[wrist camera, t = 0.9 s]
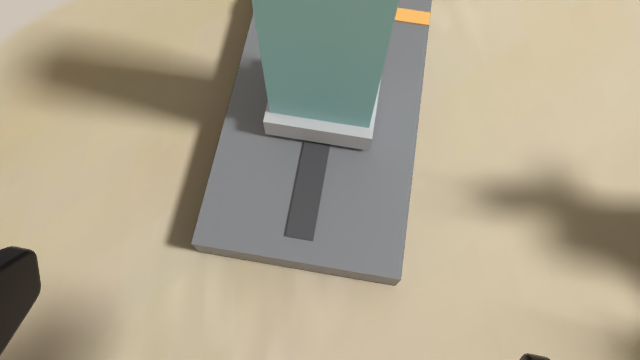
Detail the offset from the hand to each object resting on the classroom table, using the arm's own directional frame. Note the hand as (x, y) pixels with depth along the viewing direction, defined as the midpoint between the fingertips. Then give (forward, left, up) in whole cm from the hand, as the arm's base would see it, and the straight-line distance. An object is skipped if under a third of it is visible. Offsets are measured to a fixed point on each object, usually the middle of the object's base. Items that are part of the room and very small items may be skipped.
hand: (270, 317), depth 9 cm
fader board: (+10, +4, -13) cm, 17 cm away
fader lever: (+10, +4, -11) cm, 16 cm away
